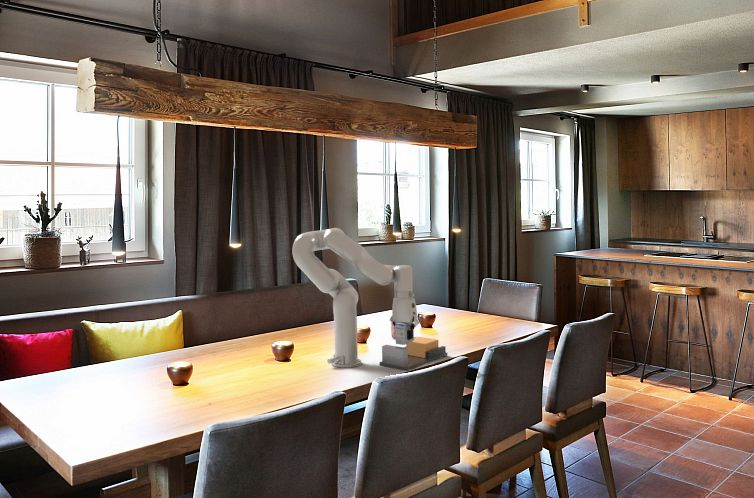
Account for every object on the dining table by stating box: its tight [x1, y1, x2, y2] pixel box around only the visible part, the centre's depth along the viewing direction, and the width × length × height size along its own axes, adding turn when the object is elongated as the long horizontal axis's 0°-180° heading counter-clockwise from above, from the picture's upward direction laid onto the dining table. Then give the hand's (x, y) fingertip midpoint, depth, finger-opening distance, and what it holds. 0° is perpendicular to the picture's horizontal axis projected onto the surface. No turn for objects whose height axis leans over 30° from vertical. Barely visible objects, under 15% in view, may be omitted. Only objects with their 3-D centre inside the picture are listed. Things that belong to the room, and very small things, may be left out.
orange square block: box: [405, 336, 439, 358], centre depth 278 cm, size 10×10×6 cm
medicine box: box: [395, 322, 415, 346], centre depth 267 cm, size 8×4×9 cm, turn 147°
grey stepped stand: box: [378, 344, 448, 372], centre depth 273 cm, size 30×14×8 cm, turn 141°
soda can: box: [390, 321, 396, 340], centre depth 317 cm, size 7×7×12 cm
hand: (404, 338), depth 267 cm, fingers closed on medicine box, 4 cm apart
